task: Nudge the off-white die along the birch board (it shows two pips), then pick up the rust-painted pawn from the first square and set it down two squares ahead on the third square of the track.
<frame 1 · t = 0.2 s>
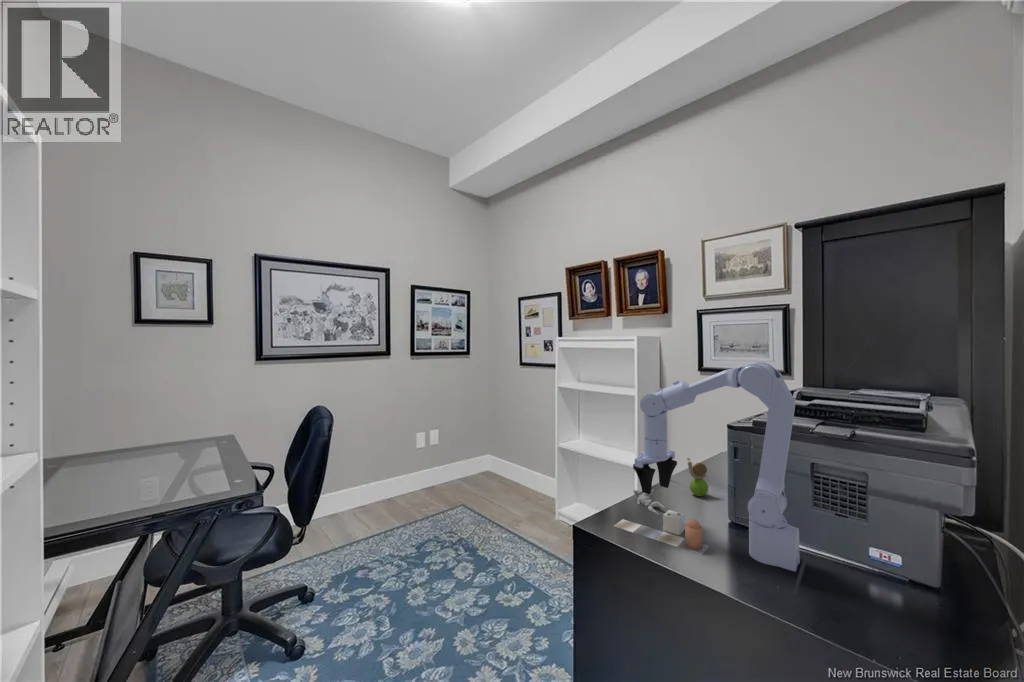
hand: (655, 489, 108), 10 cm above the table, fingers open, 7 cm apart
pawn: (693, 546, 96), point 1 cm above the table, touching board
die: (673, 530, 105), point 1 cm above the table, touching board
board: (662, 535, 104), on the table
snail figurine: (697, 496, 130), on the table
soldier figure: (649, 510, 119), on the table
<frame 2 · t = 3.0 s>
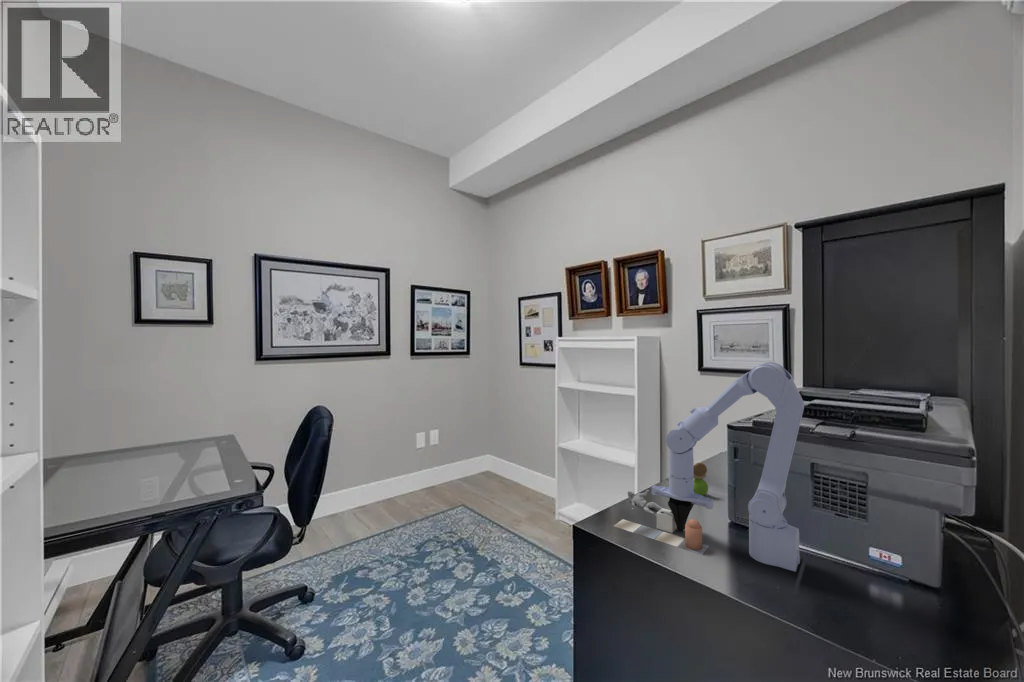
hand: (681, 529, 103), 2 cm above the table, fingers closed
die: (667, 528, 106), point 1 cm above the table, touching gripper
soldier figure: (644, 511, 119), on the table
everything else where it was.
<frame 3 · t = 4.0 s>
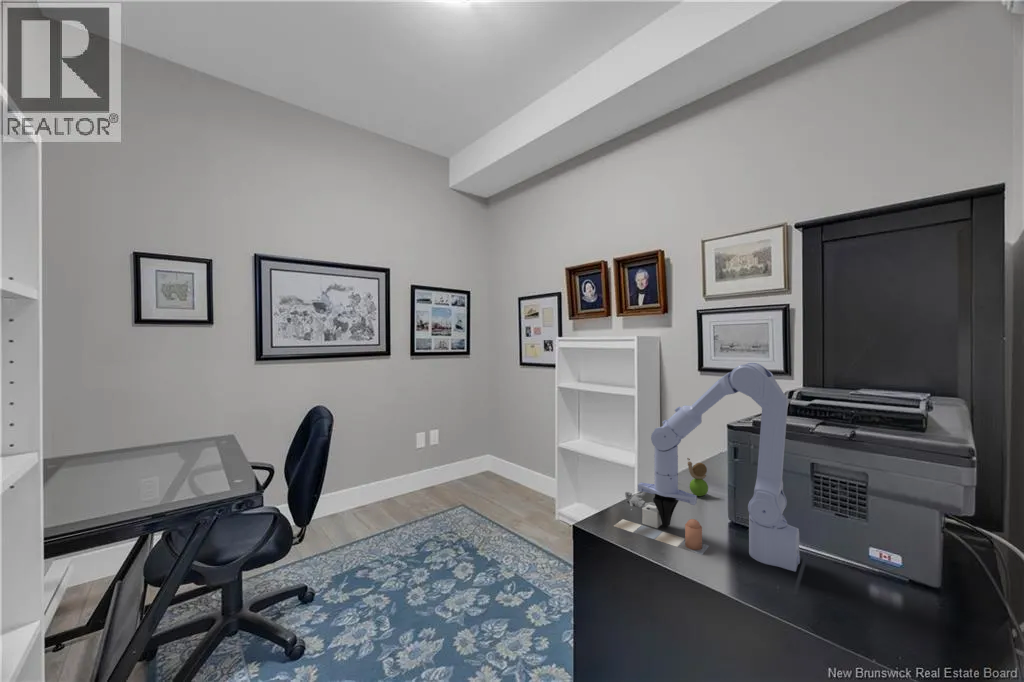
hand: (666, 525, 106), 2 cm above the table, fingers closed
die: (652, 523, 108), point 1 cm above the table, touching board, gripper
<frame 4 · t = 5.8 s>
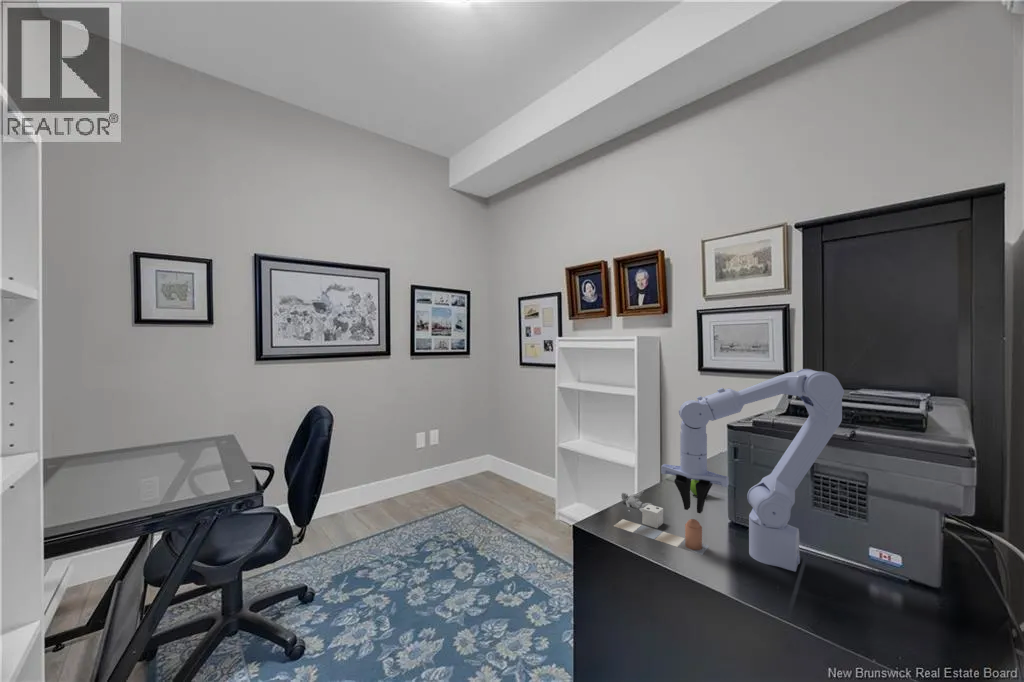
hand: (693, 510, 96), 9 cm above the table, fingers closed
die: (652, 523, 108), point 1 cm above the table, touching board
soldier figure: (640, 512, 118), on the table
everything else where it was.
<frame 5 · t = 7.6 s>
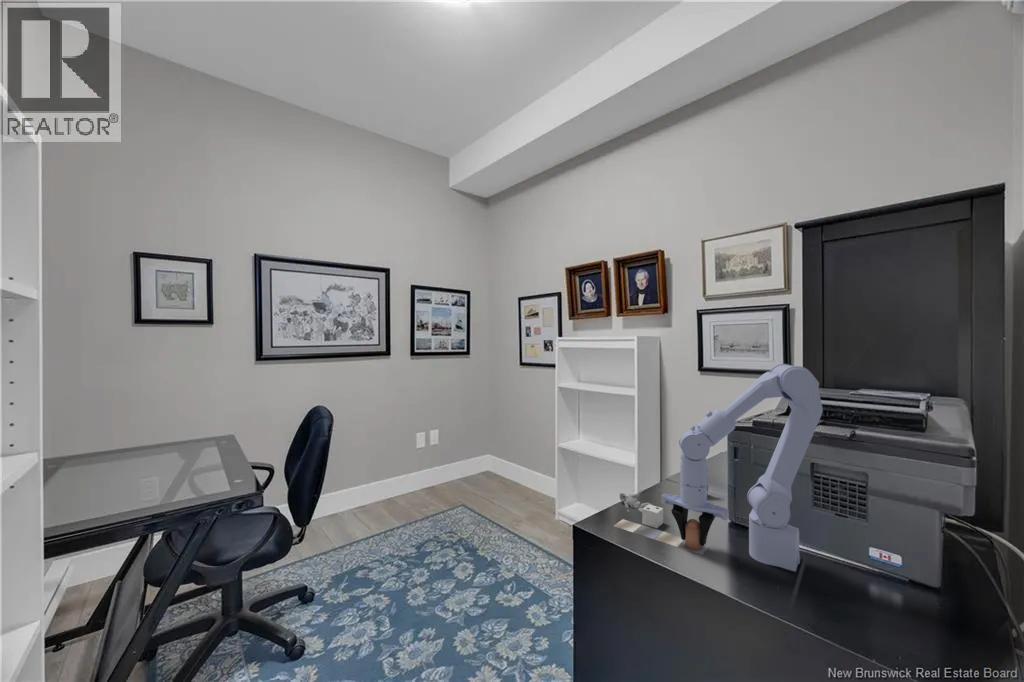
hand: (693, 541, 96), 2 cm above the table, fingers closed on pawn, 4 cm apart
pawn: (693, 546, 96), point 1 cm above the table, touching board, gripper
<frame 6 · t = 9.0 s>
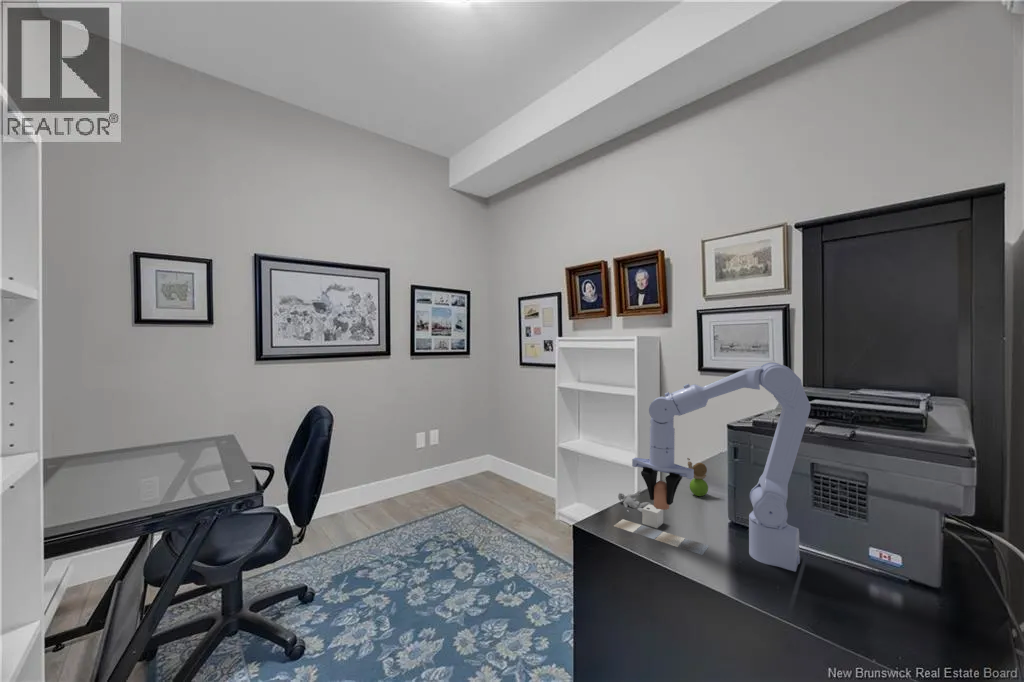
hand: (661, 501, 101), 10 cm above the table, fingers closed on pawn, 4 cm apart
pawn: (661, 506, 101), point 8 cm above the table, touching gripper
everything else where it was.
when the fingers open (3 cm above the table, at t = 10.7 s): pawn drops 1 cm, resting on board.
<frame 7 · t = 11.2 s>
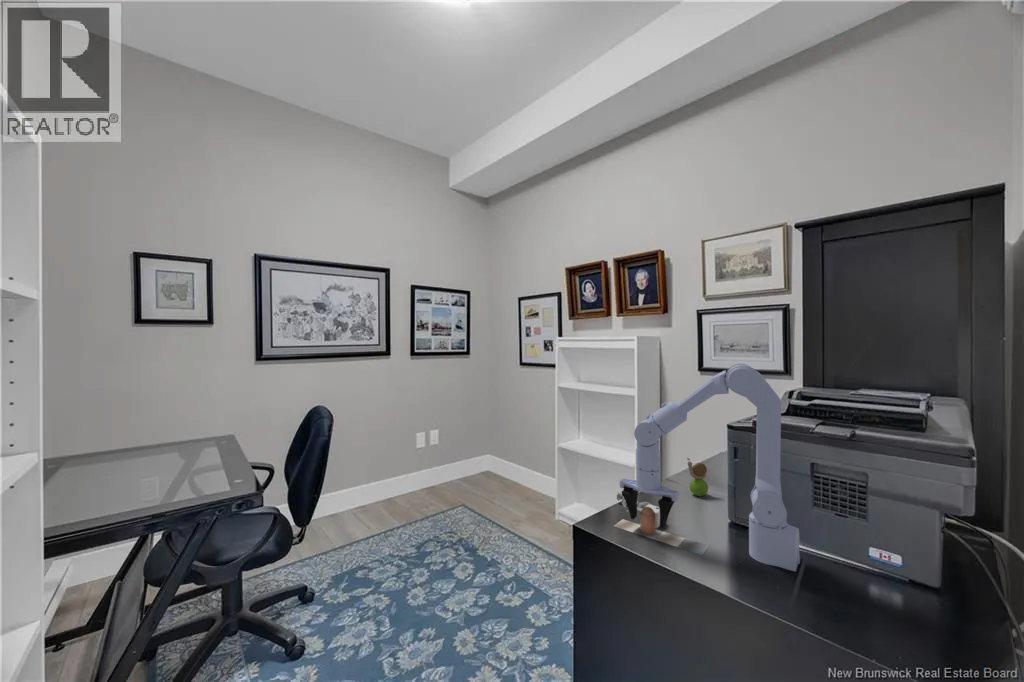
hand: (648, 522, 103), 3 cm above the table, fingers open, 7 cm apart
pawn: (647, 532, 103), point 1 cm above the table, touching board
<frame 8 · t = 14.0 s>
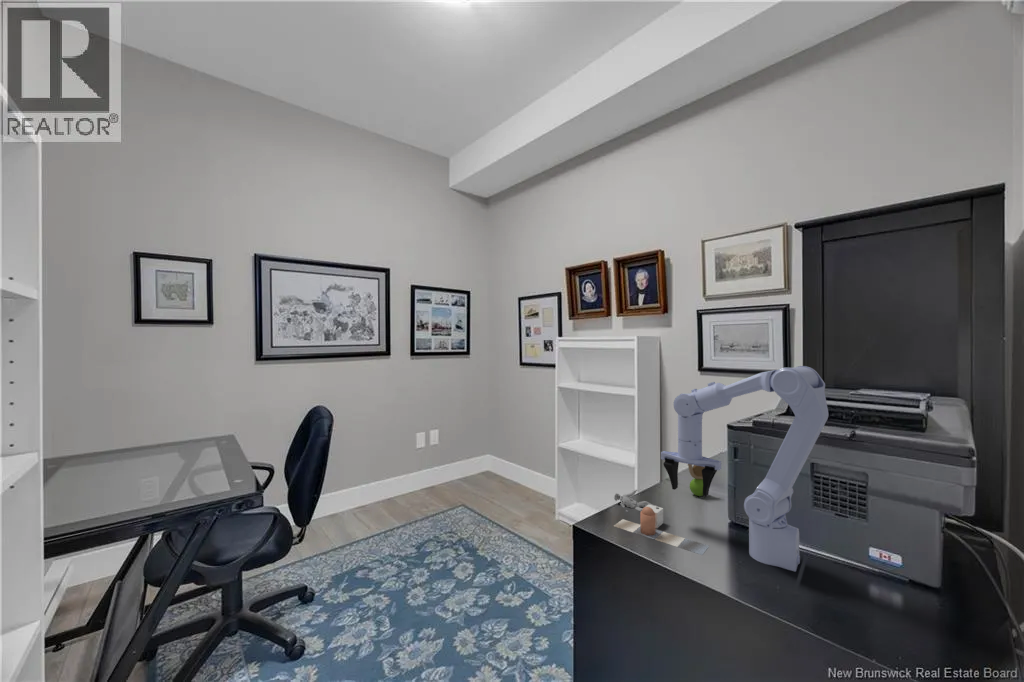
hand: (689, 491, 106), 10 cm above the table, fingers open, 7 cm apart
soldier figure: (635, 511, 119), on the table, touching board
everything else where it was.
at the end: pawn 0.1 cm from the target spot, point 0.9 cm above the table; pawn tilted 0°; die moved 5.6 cm from its start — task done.
